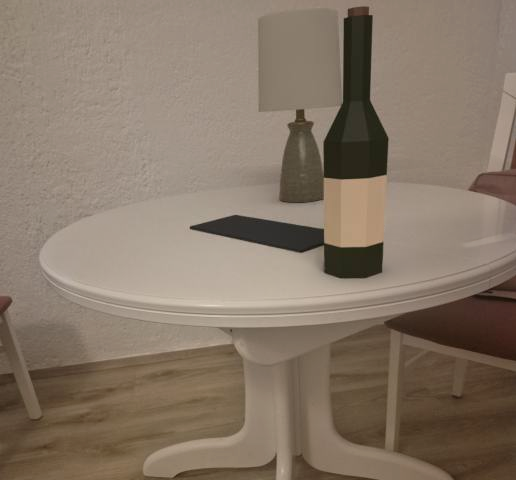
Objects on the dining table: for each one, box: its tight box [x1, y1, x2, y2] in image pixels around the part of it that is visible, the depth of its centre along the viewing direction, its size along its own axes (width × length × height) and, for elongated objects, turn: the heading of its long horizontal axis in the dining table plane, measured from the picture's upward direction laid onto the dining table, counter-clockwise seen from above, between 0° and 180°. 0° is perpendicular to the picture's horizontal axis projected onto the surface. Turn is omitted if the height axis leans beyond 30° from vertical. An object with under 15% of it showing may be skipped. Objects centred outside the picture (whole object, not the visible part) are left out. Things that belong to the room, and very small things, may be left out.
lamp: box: [257, 7, 343, 203], centre depth 108 cm, size 19×19×37 cm
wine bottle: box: [322, 5, 389, 279], centre depth 60 cm, size 8×8×30 cm
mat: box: [189, 214, 324, 253], centre depth 89 cm, size 30×12×1 cm, turn 43°
